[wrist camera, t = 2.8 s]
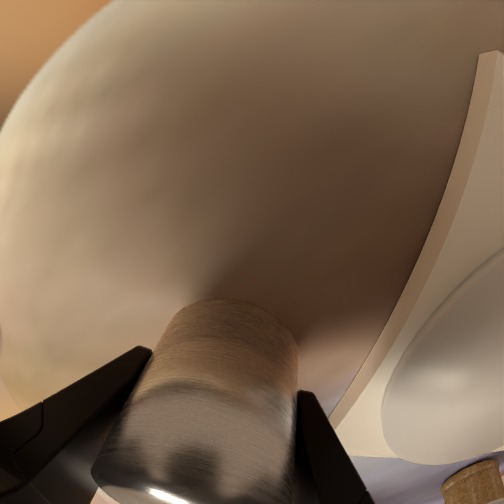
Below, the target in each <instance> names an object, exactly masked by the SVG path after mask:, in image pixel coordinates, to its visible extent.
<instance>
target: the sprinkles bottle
mask: <svg viewBox="0 0 504 504" xmlns="http://www.w3.org/2000/svg"><path fill="white" fill-rule="evenodd" d="M441 493H442V495H443V496H444V500H445V504H504V485H503V482H502V479H501V475H500V472H499V464H498V462H497V461H495V460H485V461H482V462H480V463H477V464H474V465H471V466H470V467H467V468H465V469H463V470H461V471H460V472H458V473H456V474H455V475H453V476H452V477H450V478H449V479H448V480H447V481H446V482H445V483H444V484H443V486H442V487H441Z"/></svg>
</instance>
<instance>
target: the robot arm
mask: <svg viewBox="0 0 504 504" xmlns="http://www.w3.org/2000/svg"><path fill="white" fill-rule="evenodd" d="M152 353H153V352H152V350H151V349H148V348H146V347H143V346H136V347H134V348H133V349H131V350H129V351H128V352H126V353H124V354H123V355H121V356H119V357H118V358H116V359H114V360H112V361H111V362H109V363H107V364H106V365H104V366H102V367H100V368H99V369H97V370H95V371H94V372H92V373H90V374H88V375H87V376H85V377H83V378H81V379H80V380H78V381H76V382H75V383H73V384H71V385H69V386H68V387H66V388H64V389H62V390H61V391H59V392H57V393H55V394H54V395H52V396H50V397H48V398H46V399H45V400H43V403H42V402H39V403H37V404H36V405H34V406H32V407H30V408H28V409H26V410H24V411H23V412H21V413H19V414H17V415H15V416H12V417H10V418H8V419H5V420H3V421H1V422H0V504H90V503H91V500H92V499H93V497H94V495H95V493H96V491H97V489H98V487H99V486H98V485H97V484H96V483H95V481H94V480H93V478H92V476H91V468H92V466H93V464H94V462H95V460H96V458H97V456H98V454H99V452H100V450H101V448H102V446H103V444H104V442H105V440H106V438H107V436H108V434H109V432H110V430H111V429H112V427H113V425H114V423H115V421H116V419H117V417H118V415H119V413H120V412H121V410H122V408H123V406H124V404H125V402H126V400H127V398H128V397H129V395H130V393H131V391H132V389H133V387H134V385H135V384H136V382H137V380H138V378H139V376H140V374H141V373H142V371H143V369H144V367H145V365H146V364H147V362H148V360H149V358H150V356H151V355H152ZM366 489H367V488H366V486H365V485H364V483H363V481H362V479H361V478H360V476H359V474H358V472H357V470H356V469H355V467H354V465H353V463H352V461H351V460H350V458H349V456H348V454H347V452H346V451H345V449H344V447H343V445H342V443H341V442H340V440H339V438H338V436H337V434H336V433H335V431H334V429H333V427H332V425H331V424H330V422H329V420H328V418H327V416H326V414H325V413H324V411H323V409H322V407H321V405H320V404H319V402H318V400H317V398H316V396H315V395H314V393H312V392H309V391H304V390H299V391H298V392H297V421H296V444H295V463H294V479H293V494H292V504H375V502H374V500H373V499H372V497H371V495H370V493H369V492H368V491H366Z"/></svg>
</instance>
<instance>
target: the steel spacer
mask: <svg viewBox="0 0 504 504" xmlns="http://www.w3.org/2000/svg"><path fill="white" fill-rule="evenodd" d="M297 392H298V350H297V345H296V343H295V340H294V338H293V336H292V334H291V333H290V331H289V330H288V329H287V328H286V326H285V325H284V324H283V323H282V322H281V321H280V320H279V319H277V318H276V317H275V316H273V315H272V314H270V313H269V312H267V311H265V310H264V309H262V308H259V307H257V306H255V305H252V304H249V303H246V302H242V301H238V300H232V299H209V300H203V301H199V302H196V303H193V304H191V305H188V306H187V307H185V308H183V309H182V310H180V311H179V312H178V313H177V314H176V315H175V316H174V317H173V318H172V319H171V321H170V323H169V324H168V326H167V328H166V330H165V331H164V333H163V335H162V337H161V338H160V340H159V342H158V344H157V346H156V347H155V349H154V351H153V353H152V355H151V356H150V358H149V360H148V362H147V364H146V365H145V367H144V369H143V371H142V373H141V374H140V376H139V378H138V380H137V382H136V384H135V385H134V387H133V389H132V391H131V393H130V395H129V397H128V398H127V400H126V402H125V404H124V406H123V408H122V410H121V412H120V413H119V415H118V417H117V419H116V421H115V423H114V425H113V427H112V429H111V430H110V432H109V434H108V436H107V438H106V440H105V442H104V444H103V446H102V448H101V450H100V452H99V454H98V456H97V458H96V460H95V462H94V464H93V466H92V468H91V476H92V478H93V480H94V481H95V483H96V484H97V485H98V486H99V487H100V488H101V489H102V490H103V491H104V492H105V493H106V494H107V495H109V496H110V497H111V498H113V499H114V500H115V501H117V502H118V503H120V504H292V494H293V479H294V463H295V444H296V421H297Z"/></svg>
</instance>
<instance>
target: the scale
mask: <svg viewBox="0 0 504 504" xmlns="http://www.w3.org/2000/svg"><path fill="white" fill-rule="evenodd" d="M328 420H329V422H330V424H331V425H332V427H333V429H334V431H335V433H336V434H337V436H338V438H339V440H340V442H341V443H342V445H343V447H344V449H345V451H346V452H347V454H348V455H352V456H367V457H391V458H402V459H405V460H407V461H409V462H413V463H417V464H424V465H443V464H451V463H456V462H461V461H465V460H469V459H472V458H475V457H478V456H481V455H483V454H486V453H489V452H496V451H503V450H504V54H503V53H501V52H500V51H499V50H495V51H490V52H486V53H482V54H479V59H478V65H477V71H476V76H475V82H474V87H473V92H472V96H471V101H470V105H469V110H468V114H467V118H466V122H465V126H464V130H463V134H462V137H461V141H460V145H459V148H458V151H457V155H456V158H455V161H454V165H453V168H452V171H451V174H450V177H449V180H448V183H447V186H446V189H445V192H444V195H443V198H442V200H441V203H440V206H439V209H438V211H437V214H436V217H435V219H434V222H433V224H432V227H431V229H430V232H429V234H428V237H427V239H426V242H425V244H424V246H423V249H422V251H421V253H420V256H419V258H418V260H417V262H416V265H415V267H414V269H413V271H412V273H411V276H410V278H409V280H408V282H407V284H406V286H405V288H404V290H403V292H402V294H401V296H400V298H399V300H398V302H397V304H396V306H395V308H394V310H393V312H392V314H391V316H390V318H389V320H388V322H387V324H386V325H385V327H384V329H383V331H382V333H381V335H380V336H379V338H378V340H377V342H376V343H375V345H374V347H373V349H372V350H371V352H370V354H369V356H368V357H367V359H366V361H365V362H364V364H363V366H362V367H361V369H360V371H359V372H358V374H357V375H356V377H355V379H354V380H353V382H352V383H351V385H350V387H349V388H348V390H347V391H346V393H345V394H344V396H343V397H342V399H341V400H340V402H339V403H338V405H337V406H336V408H335V409H334V411H333V412H332V414H331V415H330V416H329V418H328Z"/></svg>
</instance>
